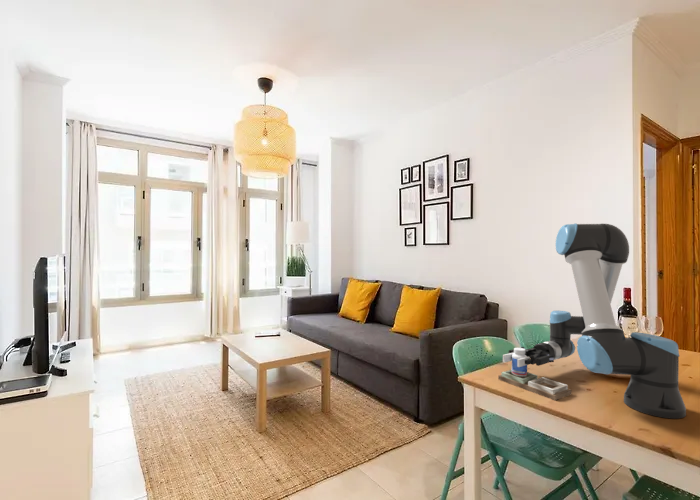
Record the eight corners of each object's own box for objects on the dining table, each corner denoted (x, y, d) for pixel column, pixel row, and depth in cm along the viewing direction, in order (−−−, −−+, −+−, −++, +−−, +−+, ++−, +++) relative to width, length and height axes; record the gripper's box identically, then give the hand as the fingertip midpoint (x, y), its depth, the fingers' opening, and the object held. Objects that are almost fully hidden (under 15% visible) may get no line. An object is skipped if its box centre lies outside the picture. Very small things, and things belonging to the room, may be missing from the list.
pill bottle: (529, 377, 133) (529, 351, 132) (513, 376, 134) (513, 350, 134) (524, 372, 138) (525, 347, 138) (510, 371, 139) (510, 346, 139)
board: (571, 394, 124) (571, 385, 124) (555, 400, 119) (555, 391, 119) (514, 374, 143) (514, 367, 143) (498, 379, 138) (498, 371, 138)
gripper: (569, 367, 137) (534, 378, 125) (525, 355, 153) (489, 363, 141) (570, 348, 137) (534, 357, 125) (525, 337, 153) (490, 345, 141)
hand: (510, 360), depth 133 cm, fingers closed on pill bottle, 5 cm apart
